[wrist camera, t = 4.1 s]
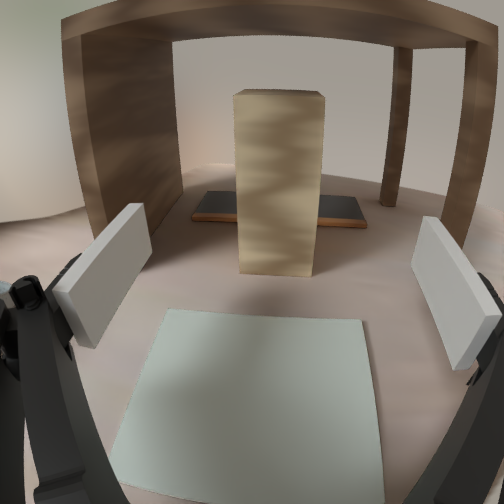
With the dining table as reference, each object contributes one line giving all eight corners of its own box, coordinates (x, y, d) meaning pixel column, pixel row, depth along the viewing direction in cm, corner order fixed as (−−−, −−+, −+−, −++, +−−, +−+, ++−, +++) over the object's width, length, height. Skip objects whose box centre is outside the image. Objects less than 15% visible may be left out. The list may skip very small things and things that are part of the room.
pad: (106, 478, 10) (102, 475, 10) (169, 312, 19) (167, 308, 19) (381, 505, 9) (384, 504, 9) (359, 324, 18) (361, 319, 18)
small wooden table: (105, 276, 22) (60, 19, 12) (171, 191, 36) (157, 30, 25) (445, 293, 20) (497, 26, 10) (391, 200, 33) (407, 36, 23)
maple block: (239, 273, 23) (233, 95, 16) (248, 237, 27) (244, 89, 20) (311, 277, 22) (325, 97, 16) (308, 240, 26) (317, 91, 20)
